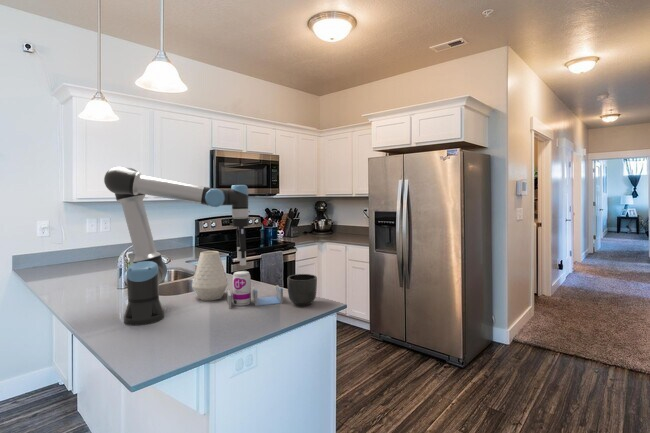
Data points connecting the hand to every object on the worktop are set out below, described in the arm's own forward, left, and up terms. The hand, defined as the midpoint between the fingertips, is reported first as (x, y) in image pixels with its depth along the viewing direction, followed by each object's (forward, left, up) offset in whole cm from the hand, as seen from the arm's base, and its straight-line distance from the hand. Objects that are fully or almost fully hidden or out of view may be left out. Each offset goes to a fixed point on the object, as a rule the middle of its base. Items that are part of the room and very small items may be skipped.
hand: (241, 262), depth 176 cm
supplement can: (0, 0, -20) cm, 20 cm away
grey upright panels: (+6, 0, -20) cm, 21 cm away
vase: (-14, +16, -20) cm, 29 cm away
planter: (+27, -10, -20) cm, 35 cm away
